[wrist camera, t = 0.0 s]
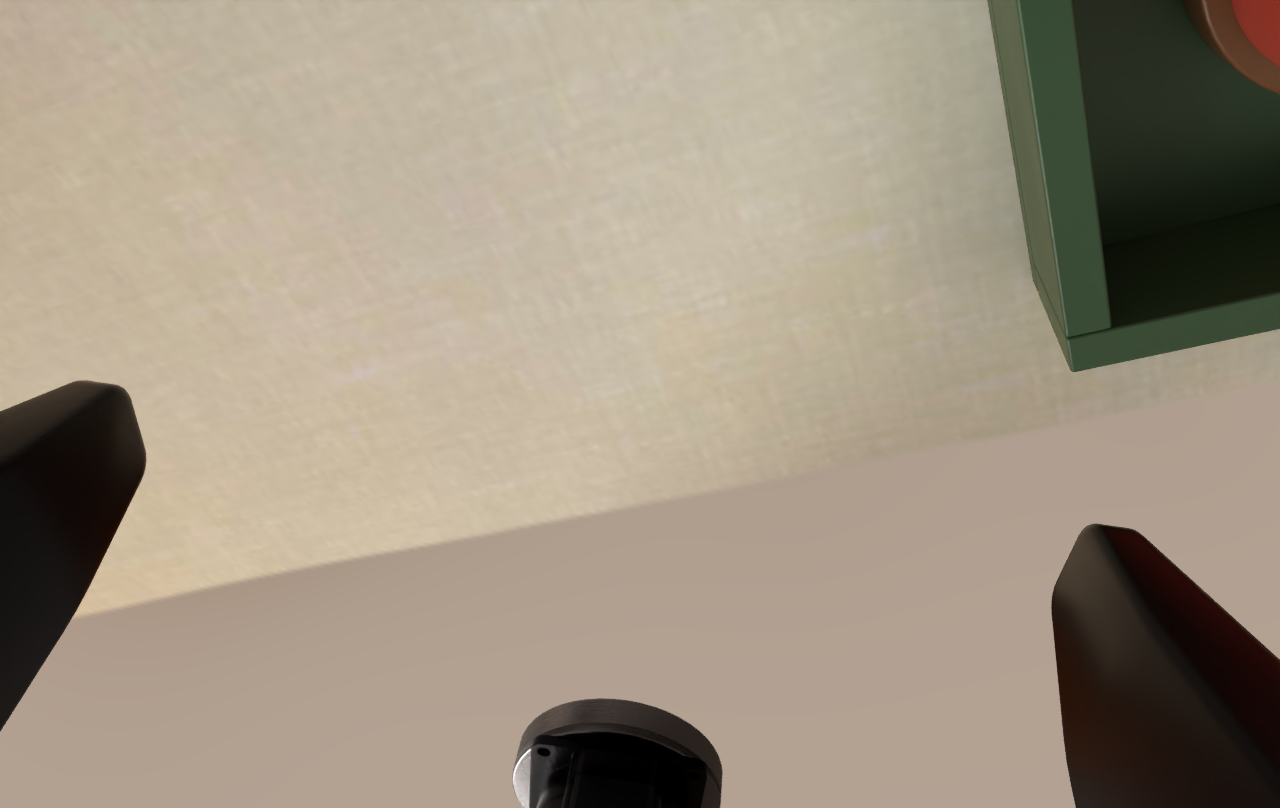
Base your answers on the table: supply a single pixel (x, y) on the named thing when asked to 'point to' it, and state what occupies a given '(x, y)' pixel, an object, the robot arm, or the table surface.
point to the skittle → (1242, 35)
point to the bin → (1139, 177)
